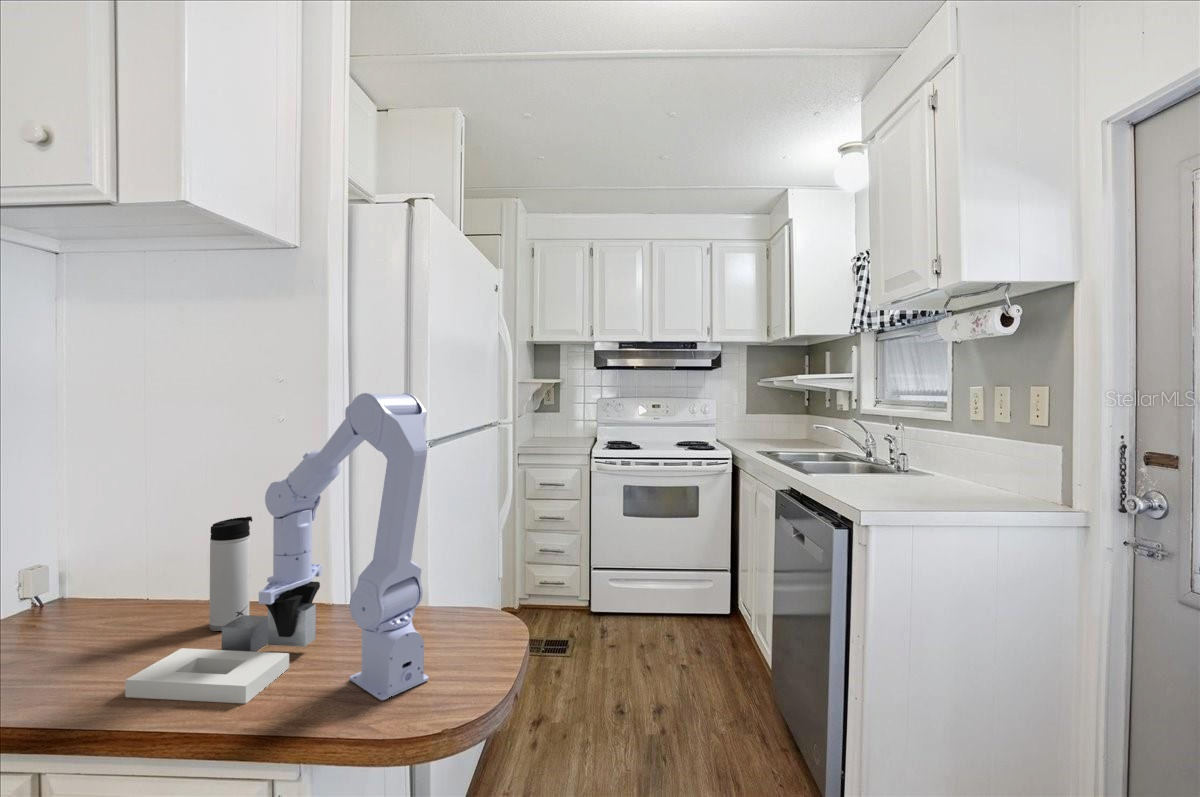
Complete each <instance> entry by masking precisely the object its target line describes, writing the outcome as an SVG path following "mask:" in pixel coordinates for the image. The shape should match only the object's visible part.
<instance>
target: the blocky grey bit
mask: <svg viewBox="0 0 1200 797" xmlns="http://www.w3.org/2000/svg"><path fill="white" fill-rule="evenodd" d="M316 606H317V604H316V603H312V604H307V603H299V605H298V609H297V613H296V619H295V628H294V633H293V635H292V636H291V637H279V635H278V632H277V628H276V625H275V622H274V619H273V616H272V614H271V612H270V611H269V609H268V608H267V616H268V645H269V646H278V647H279V646H281V647H286V646H287V647H306V646H308V645H309V644H311V643H312V642H313V641H315V640H316V638H317V636H316V632H317V631H316V628H317V627H316V625H317V624H316V623H317V622H316V616H317V614H316V612H317V611H316V610H317V608H316Z"/></svg>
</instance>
